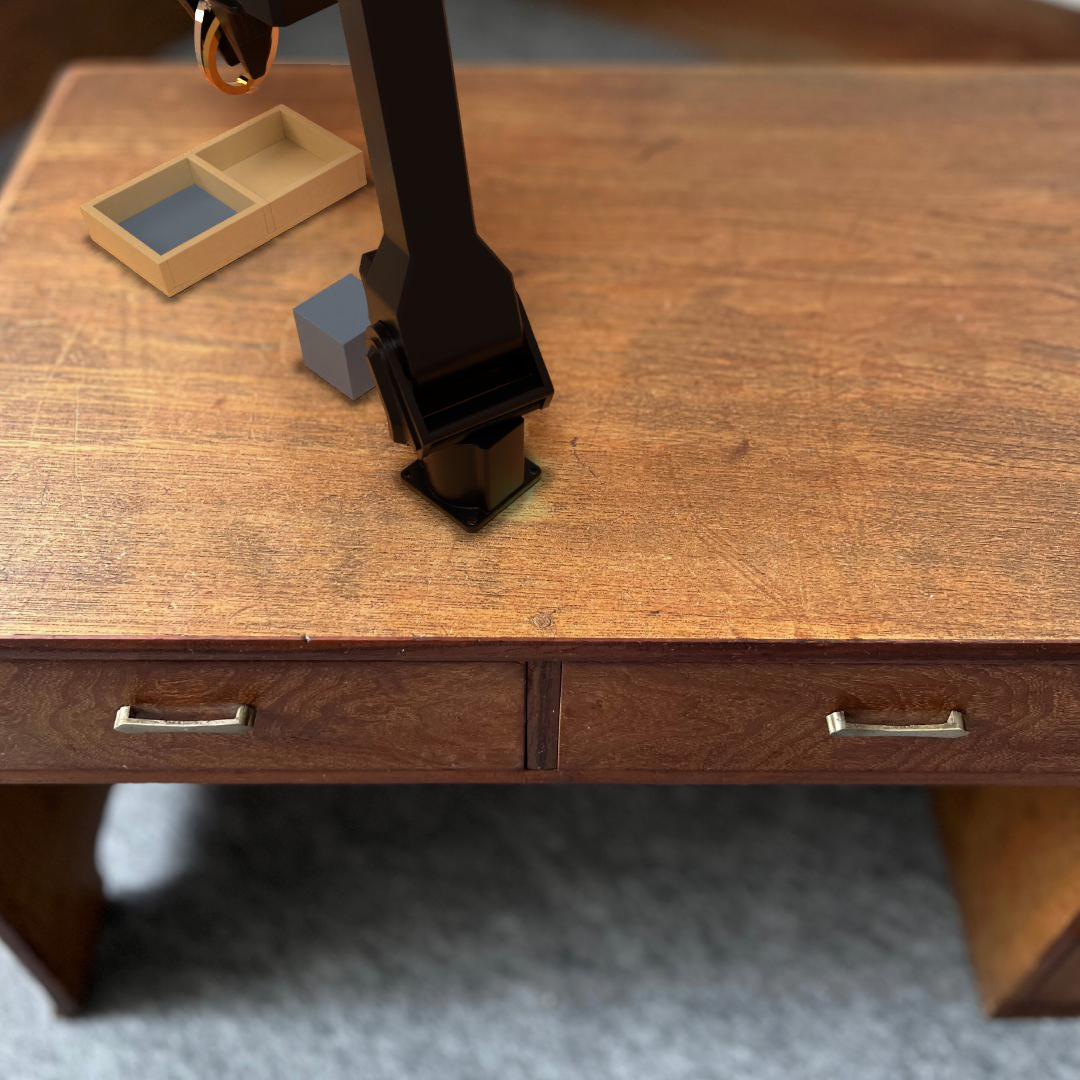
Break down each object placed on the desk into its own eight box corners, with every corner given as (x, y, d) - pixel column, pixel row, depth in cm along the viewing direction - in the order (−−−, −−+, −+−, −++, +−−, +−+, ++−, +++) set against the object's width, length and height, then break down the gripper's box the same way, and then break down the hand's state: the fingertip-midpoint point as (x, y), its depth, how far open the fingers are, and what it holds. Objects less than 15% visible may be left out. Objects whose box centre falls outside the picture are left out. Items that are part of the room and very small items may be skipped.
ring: (228, 120, 74) (202, 6, 68) (195, 104, 75) (168, -10, 69) (299, 78, 78) (281, -35, 71) (267, 62, 79) (247, -50, 72)
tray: (288, 136, 90) (281, 103, 87) (367, 184, 86) (362, 150, 83) (91, 239, 81) (78, 205, 79) (169, 298, 77) (158, 264, 75)
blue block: (408, 363, 73) (401, 306, 69) (353, 401, 71) (343, 344, 67) (359, 330, 75) (350, 272, 71) (304, 365, 73) (291, 308, 69)
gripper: (402, -178, 63) (421, 75, 75) (206, -256, 70) (253, -14, 83) (251, -121, 58) (299, 140, 70) (57, -211, 65) (131, 39, 77)
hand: (246, 70), depth 75 cm, fingers closed on ring, 2 cm apart
